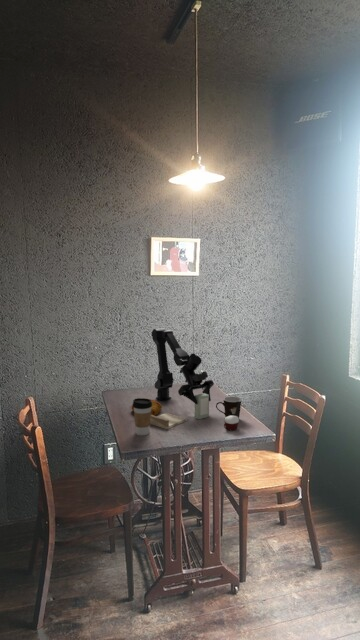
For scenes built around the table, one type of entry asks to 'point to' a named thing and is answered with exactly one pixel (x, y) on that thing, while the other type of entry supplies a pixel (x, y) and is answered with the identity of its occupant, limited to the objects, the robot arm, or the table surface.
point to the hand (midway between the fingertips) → (203, 402)
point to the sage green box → (202, 406)
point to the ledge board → (166, 420)
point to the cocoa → (232, 420)
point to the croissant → (153, 407)
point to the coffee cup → (142, 415)
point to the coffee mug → (230, 406)
